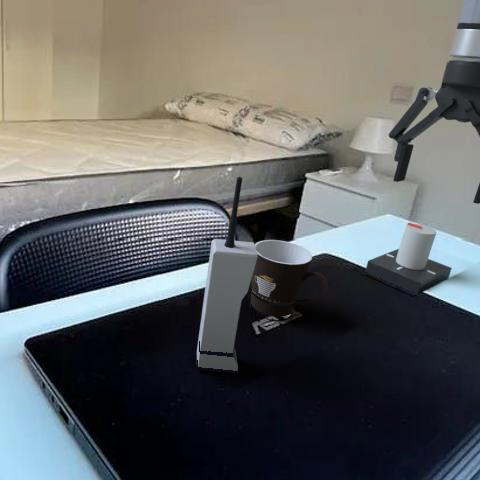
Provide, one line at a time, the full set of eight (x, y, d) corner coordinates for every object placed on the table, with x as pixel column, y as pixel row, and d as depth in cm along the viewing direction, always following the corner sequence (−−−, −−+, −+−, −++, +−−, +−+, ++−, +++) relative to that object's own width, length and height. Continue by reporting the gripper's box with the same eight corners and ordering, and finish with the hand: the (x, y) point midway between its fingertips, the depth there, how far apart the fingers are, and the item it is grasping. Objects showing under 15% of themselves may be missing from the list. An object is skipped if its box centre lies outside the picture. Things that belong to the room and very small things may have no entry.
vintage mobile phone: (236, 375, 62) (270, 184, 53) (197, 371, 62) (223, 179, 53) (234, 357, 66) (265, 174, 56) (196, 354, 66) (221, 170, 56)
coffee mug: (233, 299, 80) (242, 242, 76) (277, 292, 84) (288, 237, 80) (275, 339, 71) (288, 277, 67) (323, 330, 74) (338, 270, 70)
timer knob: (429, 266, 92) (442, 229, 89) (416, 272, 89) (429, 234, 86) (403, 256, 95) (414, 220, 92) (390, 261, 92) (401, 224, 89)
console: (447, 282, 93) (452, 267, 92) (416, 298, 86) (421, 282, 85) (396, 261, 100) (400, 247, 99) (364, 274, 93) (368, 259, 92)
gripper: (578, 68, 71) (526, 208, 80) (408, 54, 89) (380, 170, 97) (562, 68, 67) (509, 216, 75) (387, 53, 85) (359, 175, 93)
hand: (436, 190), depth 86 cm, fingers open, 13 cm apart
